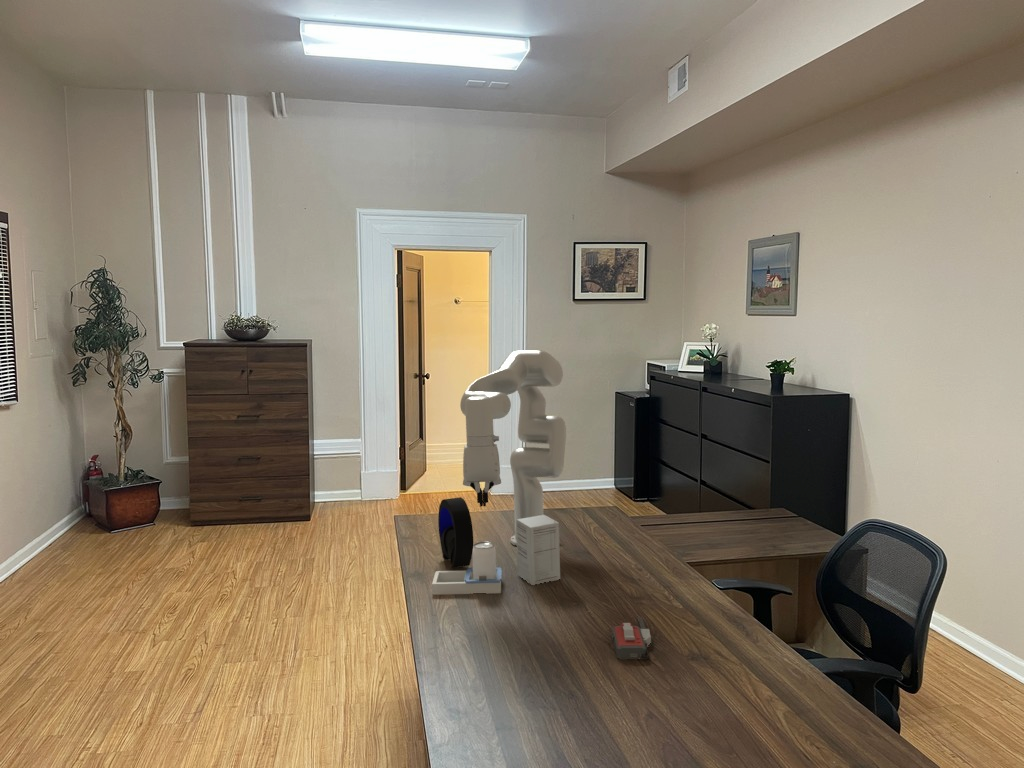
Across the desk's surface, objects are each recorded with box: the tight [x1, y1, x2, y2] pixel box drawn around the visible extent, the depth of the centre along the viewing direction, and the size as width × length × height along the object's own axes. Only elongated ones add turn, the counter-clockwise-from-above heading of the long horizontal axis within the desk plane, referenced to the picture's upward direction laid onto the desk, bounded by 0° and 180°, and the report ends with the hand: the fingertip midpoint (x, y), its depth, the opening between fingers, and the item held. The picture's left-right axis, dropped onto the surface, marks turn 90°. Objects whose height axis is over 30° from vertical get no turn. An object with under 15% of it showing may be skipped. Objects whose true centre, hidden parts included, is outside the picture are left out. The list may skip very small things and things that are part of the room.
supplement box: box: [516, 514, 561, 586], centre depth 204 cm, size 10×9×17 cm
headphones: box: [437, 497, 474, 569], centre depth 216 cm, size 19×7×20 cm, turn 22°
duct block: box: [431, 567, 503, 596], centre depth 198 cm, size 19×10×5 cm, turn 90°
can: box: [472, 541, 497, 580], centre depth 198 cm, size 6×6×12 cm
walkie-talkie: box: [611, 616, 652, 660], centre depth 164 cm, size 9×4×20 cm
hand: (483, 505), depth 200 cm, fingers closed
